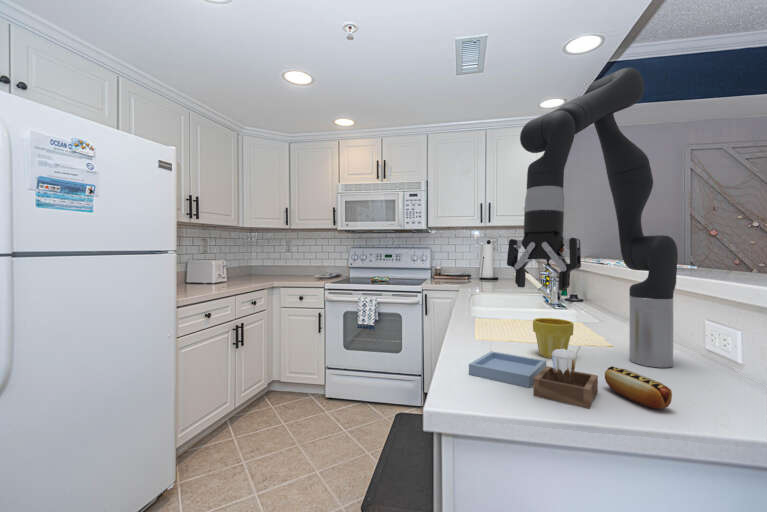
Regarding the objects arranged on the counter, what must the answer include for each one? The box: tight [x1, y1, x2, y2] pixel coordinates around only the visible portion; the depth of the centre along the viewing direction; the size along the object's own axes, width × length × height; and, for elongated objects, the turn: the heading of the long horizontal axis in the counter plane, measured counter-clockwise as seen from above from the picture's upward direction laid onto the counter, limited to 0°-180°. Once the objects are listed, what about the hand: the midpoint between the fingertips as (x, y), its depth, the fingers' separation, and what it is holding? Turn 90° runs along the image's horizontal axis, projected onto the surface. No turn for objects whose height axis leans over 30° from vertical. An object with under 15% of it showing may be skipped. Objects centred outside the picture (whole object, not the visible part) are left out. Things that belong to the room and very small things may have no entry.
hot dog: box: [604, 366, 673, 410], centre depth 71 cm, size 5×13×5 cm, turn 10°
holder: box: [533, 365, 599, 410], centre depth 74 cm, size 10×10×4 cm
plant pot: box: [532, 317, 574, 359], centre depth 102 cm, size 10×10×10 cm
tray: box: [468, 351, 547, 388], centre depth 88 cm, size 14×14×2 cm
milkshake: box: [551, 345, 581, 385], centre depth 74 cm, size 4×5×10 cm
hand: (540, 288), depth 75 cm, fingers open, 8 cm apart
